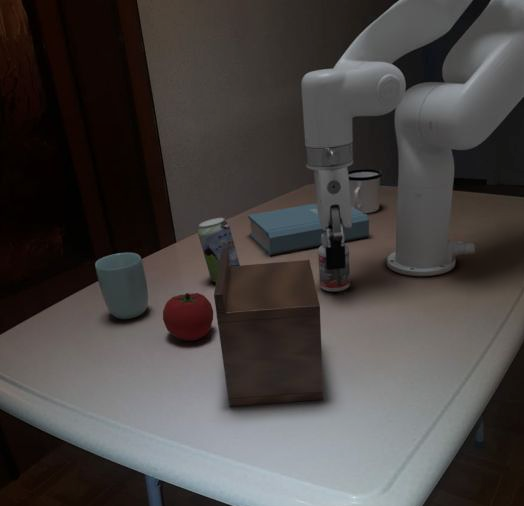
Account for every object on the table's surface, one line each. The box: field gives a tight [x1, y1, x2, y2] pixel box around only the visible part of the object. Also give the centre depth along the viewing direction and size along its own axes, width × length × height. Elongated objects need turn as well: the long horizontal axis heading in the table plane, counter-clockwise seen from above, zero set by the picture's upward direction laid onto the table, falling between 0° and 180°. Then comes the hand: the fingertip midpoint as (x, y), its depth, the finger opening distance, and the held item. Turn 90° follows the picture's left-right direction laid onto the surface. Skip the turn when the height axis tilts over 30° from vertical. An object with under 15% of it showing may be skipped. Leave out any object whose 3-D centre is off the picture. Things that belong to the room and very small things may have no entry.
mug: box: [348, 168, 383, 215], centre depth 139 cm, size 12×10×9 cm
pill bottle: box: [317, 232, 351, 292], centre depth 98 cm, size 5×5×10 cm
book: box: [247, 203, 370, 256], centre depth 125 cm, size 23×16×5 cm
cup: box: [94, 252, 149, 320], centre depth 96 cm, size 8×8×10 cm
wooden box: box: [213, 250, 324, 407], centre depth 73 cm, size 12×15×16 cm
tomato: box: [162, 292, 214, 341], centre depth 87 cm, size 8×8×7 cm
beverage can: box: [197, 217, 241, 283], centre depth 105 cm, size 6×7×12 cm
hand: (333, 260), depth 98 cm, fingers closed on pill bottle, 5 cm apart
